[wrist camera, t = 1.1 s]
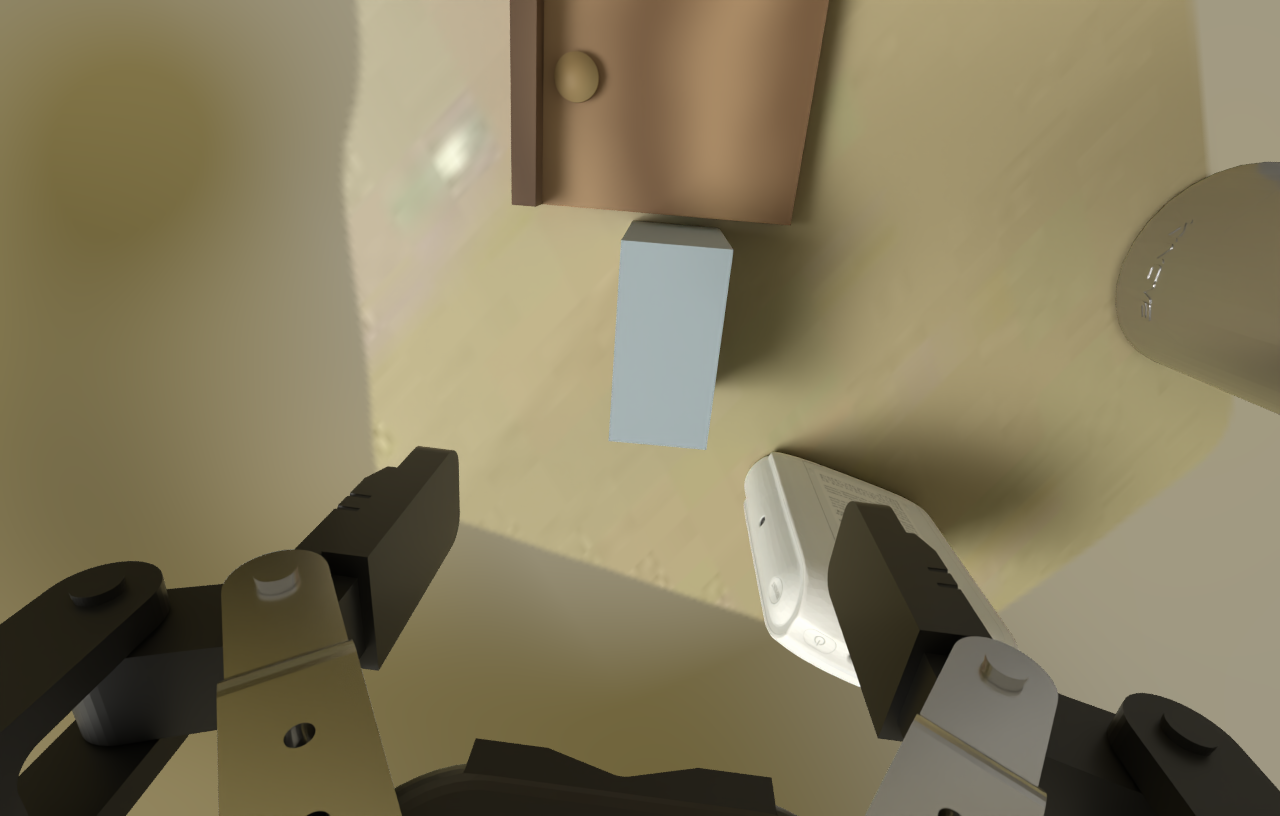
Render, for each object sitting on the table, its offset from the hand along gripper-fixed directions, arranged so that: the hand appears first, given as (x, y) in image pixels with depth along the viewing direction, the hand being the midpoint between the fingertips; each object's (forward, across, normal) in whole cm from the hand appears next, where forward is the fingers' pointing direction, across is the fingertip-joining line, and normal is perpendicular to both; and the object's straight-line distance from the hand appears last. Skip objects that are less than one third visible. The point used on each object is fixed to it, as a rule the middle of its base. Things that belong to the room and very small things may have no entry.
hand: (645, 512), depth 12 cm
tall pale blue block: (+18, 0, 0) cm, 18 cm away
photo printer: (+18, -10, +10) cm, 23 cm away
